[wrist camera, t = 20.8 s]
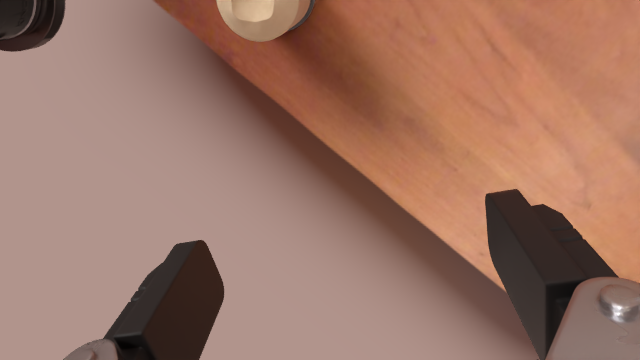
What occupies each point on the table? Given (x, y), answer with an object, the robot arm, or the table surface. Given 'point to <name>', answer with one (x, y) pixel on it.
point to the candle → (262, 17)
